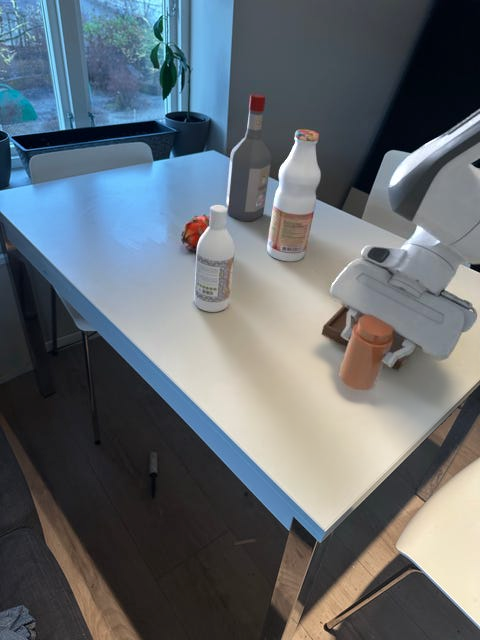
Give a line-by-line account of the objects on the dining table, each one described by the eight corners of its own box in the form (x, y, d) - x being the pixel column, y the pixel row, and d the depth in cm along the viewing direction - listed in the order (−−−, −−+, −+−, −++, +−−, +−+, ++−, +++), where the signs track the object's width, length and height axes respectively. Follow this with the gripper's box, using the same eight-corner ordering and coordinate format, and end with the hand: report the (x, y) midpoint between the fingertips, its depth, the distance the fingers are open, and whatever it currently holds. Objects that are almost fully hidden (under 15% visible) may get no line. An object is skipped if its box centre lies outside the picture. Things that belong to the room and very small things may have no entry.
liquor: (266, 213, 126) (283, 97, 108) (249, 224, 119) (265, 102, 101) (239, 204, 129) (251, 90, 111) (221, 213, 123) (231, 94, 105)
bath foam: (229, 314, 86) (240, 218, 74) (193, 312, 86) (198, 215, 74) (228, 293, 92) (238, 201, 80) (194, 292, 91) (199, 198, 79)
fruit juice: (258, 249, 108) (275, 128, 92) (284, 240, 114) (304, 124, 97) (286, 266, 103) (310, 141, 86) (312, 255, 109) (339, 136, 92)
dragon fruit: (222, 246, 111) (186, 267, 105) (202, 218, 111) (165, 237, 105) (236, 230, 104) (198, 251, 98) (215, 200, 104) (176, 219, 98)
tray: (421, 335, 87) (424, 327, 86) (398, 371, 78) (402, 362, 77) (349, 304, 93) (352, 296, 92) (321, 334, 84) (323, 325, 83)
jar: (381, 375, 73) (402, 324, 66) (367, 396, 69) (388, 343, 62) (348, 358, 75) (365, 307, 69) (332, 377, 71) (349, 325, 65)
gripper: (483, 315, 65) (429, 393, 65) (364, 257, 76) (318, 324, 76) (484, 301, 60) (425, 386, 60) (357, 241, 71) (307, 313, 71)
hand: (364, 351), depth 68 cm, fingers closed on jar, 6 cm apart
